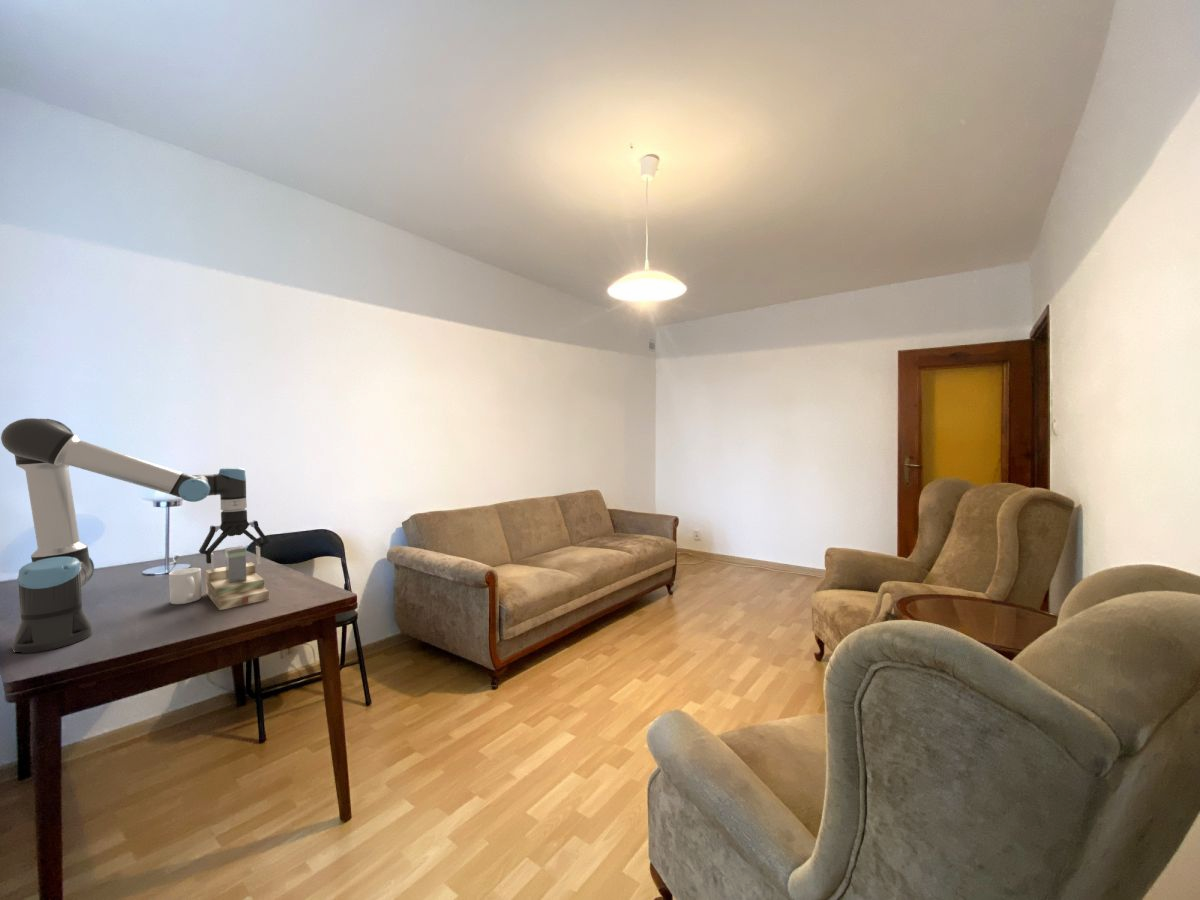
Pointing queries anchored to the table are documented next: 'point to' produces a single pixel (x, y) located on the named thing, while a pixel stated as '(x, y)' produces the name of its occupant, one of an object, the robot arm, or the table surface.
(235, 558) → the column
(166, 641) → the table surface
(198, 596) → the mug
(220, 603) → the stepped stand
